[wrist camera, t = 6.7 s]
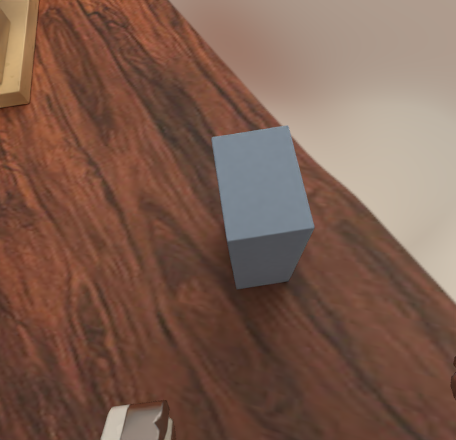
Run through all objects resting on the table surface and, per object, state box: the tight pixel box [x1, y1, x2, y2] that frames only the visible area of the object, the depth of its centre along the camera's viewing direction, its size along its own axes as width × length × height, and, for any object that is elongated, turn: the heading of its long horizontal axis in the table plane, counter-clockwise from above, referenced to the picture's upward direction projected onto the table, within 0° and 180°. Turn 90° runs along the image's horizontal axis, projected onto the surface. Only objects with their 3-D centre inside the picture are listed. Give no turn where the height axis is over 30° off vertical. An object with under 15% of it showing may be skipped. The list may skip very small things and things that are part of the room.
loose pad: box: [212, 126, 314, 289], centre depth 19 cm, size 4×5×10 cm
